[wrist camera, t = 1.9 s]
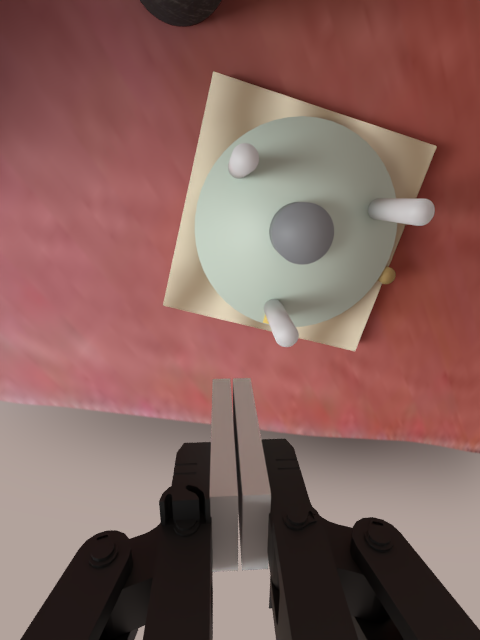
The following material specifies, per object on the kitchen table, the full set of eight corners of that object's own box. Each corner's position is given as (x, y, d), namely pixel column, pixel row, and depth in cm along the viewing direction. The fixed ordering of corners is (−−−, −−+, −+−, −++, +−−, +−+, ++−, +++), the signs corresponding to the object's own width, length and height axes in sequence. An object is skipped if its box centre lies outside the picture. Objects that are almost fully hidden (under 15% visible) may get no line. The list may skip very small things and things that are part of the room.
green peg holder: (176, 298, 31) (164, 329, 24) (223, 90, 26) (225, 49, 19) (349, 340, 33) (386, 380, 26) (422, 155, 28) (491, 141, 21)
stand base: (166, 299, 33) (160, 309, 30) (213, 79, 28) (213, 65, 25) (350, 343, 36) (362, 357, 33) (426, 150, 30) (449, 145, 27)
